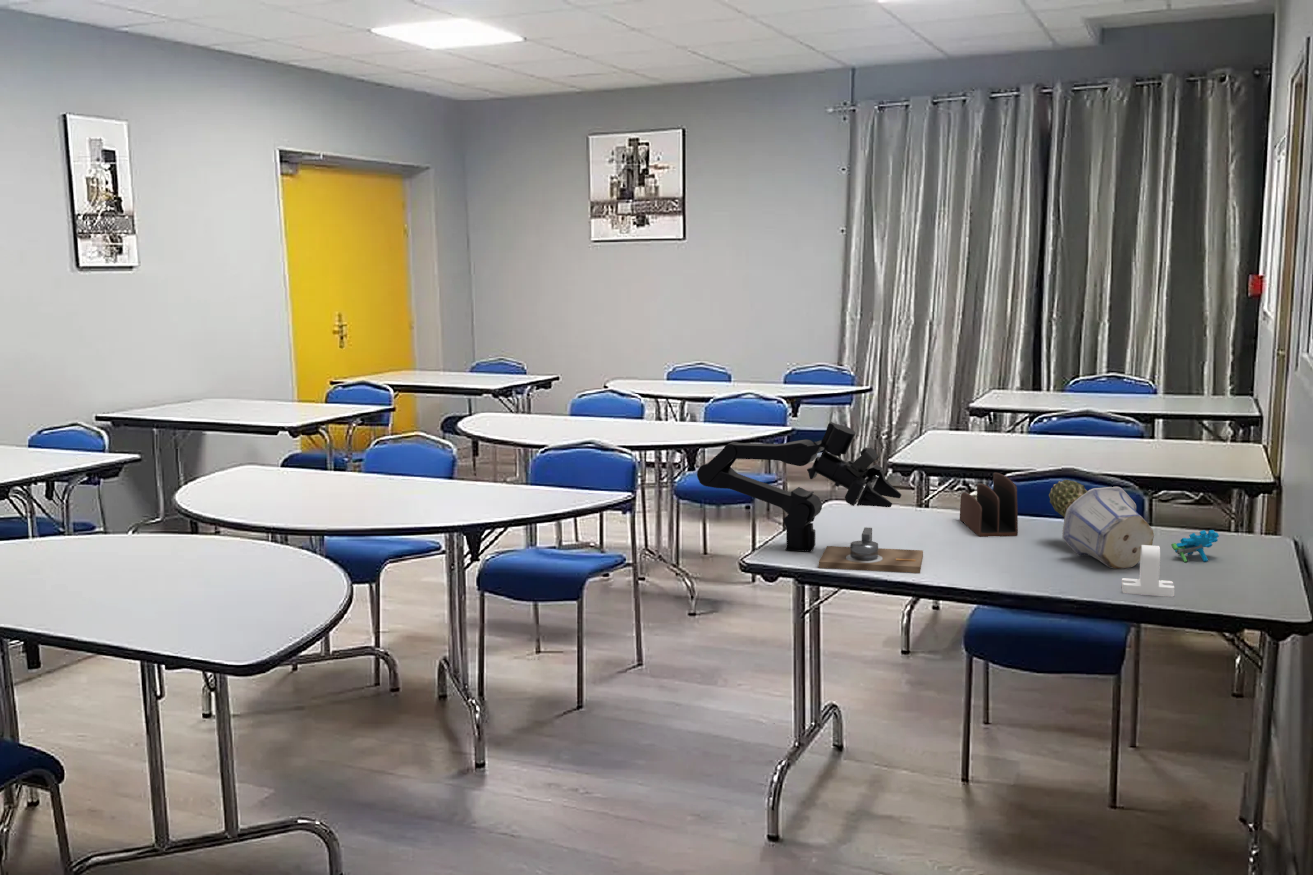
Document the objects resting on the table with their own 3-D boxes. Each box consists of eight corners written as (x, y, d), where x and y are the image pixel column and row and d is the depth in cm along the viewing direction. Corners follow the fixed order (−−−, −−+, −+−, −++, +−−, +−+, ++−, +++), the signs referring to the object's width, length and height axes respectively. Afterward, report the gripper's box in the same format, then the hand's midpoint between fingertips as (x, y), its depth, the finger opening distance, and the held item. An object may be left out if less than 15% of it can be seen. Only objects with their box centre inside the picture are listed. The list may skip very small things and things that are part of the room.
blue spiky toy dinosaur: (1207, 546, 261) (1222, 524, 253) (1219, 567, 258) (1234, 546, 249) (1162, 554, 260) (1176, 532, 252) (1173, 575, 257) (1187, 554, 249)
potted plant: (1172, 507, 245) (1097, 454, 273) (1099, 516, 242) (1030, 462, 269) (1160, 575, 252) (1088, 517, 279) (1088, 585, 249) (1022, 525, 276)
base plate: (818, 568, 256) (818, 560, 256) (827, 551, 271) (827, 544, 270) (920, 573, 250) (920, 565, 250) (923, 556, 264) (923, 549, 264)
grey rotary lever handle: (876, 560, 254) (877, 541, 253) (848, 559, 256) (848, 540, 255) (881, 546, 267) (881, 528, 266) (855, 545, 268) (855, 527, 268)
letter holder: (995, 519, 301) (996, 468, 299) (1018, 537, 281) (1019, 482, 279) (959, 520, 301) (959, 469, 299) (978, 537, 282) (980, 483, 279)
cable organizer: (1174, 597, 228) (1176, 550, 226) (1122, 593, 231) (1124, 547, 230) (1172, 590, 233) (1174, 544, 231) (1121, 586, 236) (1123, 541, 235)
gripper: (840, 449, 256) (901, 480, 251) (861, 434, 273) (919, 463, 268) (821, 490, 260) (881, 521, 255) (843, 473, 276) (900, 502, 271)
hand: (896, 501), depth 262 cm, fingers open, 9 cm apart
